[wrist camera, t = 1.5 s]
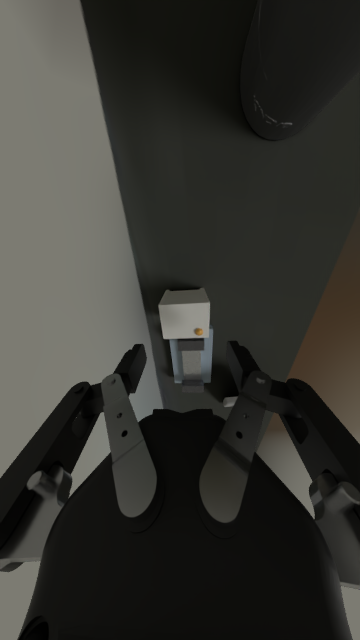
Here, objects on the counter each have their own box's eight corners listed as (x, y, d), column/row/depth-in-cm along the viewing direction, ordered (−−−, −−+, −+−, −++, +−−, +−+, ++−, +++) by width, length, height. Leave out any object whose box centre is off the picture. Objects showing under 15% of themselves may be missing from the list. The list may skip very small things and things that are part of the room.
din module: (166, 289, 23) (158, 305, 16) (203, 287, 22) (210, 303, 16) (169, 316, 25) (163, 339, 19) (203, 315, 25) (209, 338, 18)
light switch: (224, 410, 35) (227, 410, 23) (219, 385, 38) (219, 374, 27) (259, 407, 34) (282, 406, 22) (251, 382, 37) (266, 368, 25)
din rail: (178, 331, 25) (177, 340, 22) (202, 330, 24) (204, 339, 22) (182, 382, 31) (182, 393, 28) (202, 382, 31) (203, 393, 28)
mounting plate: (169, 326, 26) (168, 330, 25) (211, 324, 25) (213, 329, 24) (175, 377, 32) (175, 382, 31) (209, 377, 32) (210, 382, 31)
